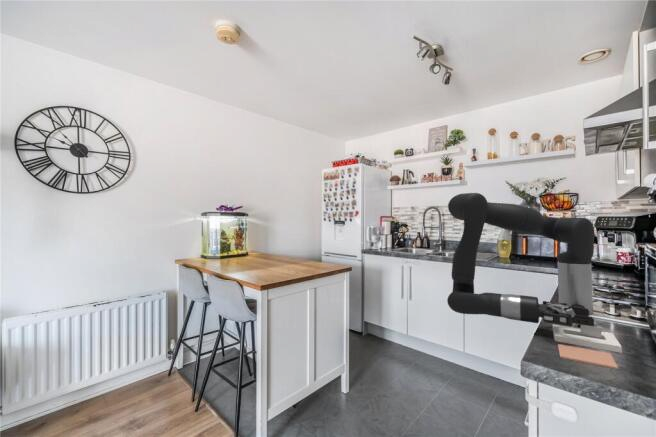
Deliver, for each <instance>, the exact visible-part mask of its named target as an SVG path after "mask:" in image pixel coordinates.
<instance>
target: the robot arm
mask: <svg viewBox="0 0 656 437" xmlns="http://www.w3.org/2000/svg"><path fill="white" fill-rule="evenodd" d="M447 210H448V211H449V214H450V215H451V216H452V217H454V218H455V219H457V220H459V221H463V231H462V235H461V239H460V240H459V241H458V242H459V243H458V245H457V246H456V249H455V251H454V254H453V256H452V265H451V279H452V281H453V282H452V292H451V293H450V294H448V297H447V300H446V301H447V305H448V307H449V309H450V310H452V311H453V312H456V313H457V314H458V313H459V314H463V315H487V316H492V317H498V318H505V319H509V320H513V321H519V322H526V323H532V324H533V323H534V324H539V321H540V318H543V323H548V324H552V325H553V324H554V325H561V326H568V327H573V326H575V325H574V324H580V325H587V326H594V322H595V320H594V317H592V316H590V315H592V313H593V314H594V303H593V302H594V299H593V274H592V273H593V272H592V268H593V267H592V259H593V257H594V254H595V253H594V251H595V250H594V249H595V228H594V224H593V223H592V222H591V220H590V219H588V218H586V217H551V216H547V215H543V214H542V213H541V212H540V211H538V210H536V209H534V208H531V207H529V206H523V205H520V204H513V203H504V202H502V203H501V202H490V201H489V202H488V200H487V198H486V197H485V195H483V194H482V193H478V192H467V193H460V194H456V195H454V196H453V197H452V198H451V199H450V200H449V202H448V203H447ZM485 224H488V225H491V226H493V227H497V228H501V229H504V230H507V231H511V232H515V233H520V234H527V235H532V236H534V235H535V236H540V237H541V236H542V237H545V238H547V239H549V240H553V241H555V242H559V243H563V244H564V243H565V244H569V248H568V250H566V251H564V252H560V253H558V254H557V255H556V256H557V283H558V284H557V288H558V289H557V290H558V302H553V301H546V300H543V301H542V303H539V298H538V297H537V296H531V295H530V296H529V295H521V294H511V293H495V292H481V293H475V284H474V283H475V275H476V265H477V255H478V249H479V246H480V245H479V244H480V241H481V238H482V233H483V229H484V225H485ZM574 304H578V305H582V306H584V307H585V308H579V307H571V305H574ZM571 308H572V309H573V311H574V313H575V314H576V315H575V316H574V315H573V314H570V313H567V312H566V310H567V309H571Z"/></svg>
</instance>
